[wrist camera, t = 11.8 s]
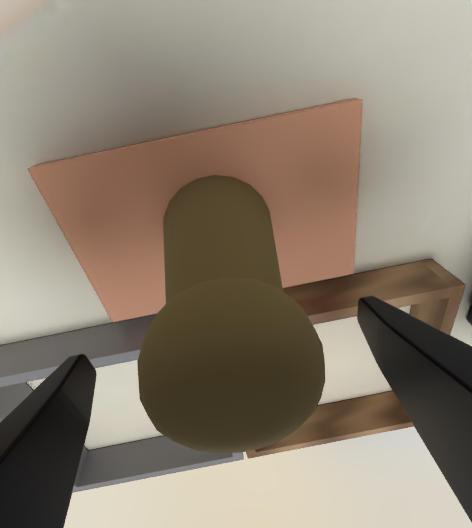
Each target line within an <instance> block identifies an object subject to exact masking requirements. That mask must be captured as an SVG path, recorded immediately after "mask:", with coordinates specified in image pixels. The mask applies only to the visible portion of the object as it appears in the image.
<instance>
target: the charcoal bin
mask: <svg viewBox="0 0 472 528" xmlns="http://www.w3.org/2000/svg"><path fill="white" fill-rule="evenodd" d="M156 315H157V314H155V315H150V316H145V317H140V318H135V319H130V320H125V321H120V322H115V323H110V324H106V325H101V326H96V327H91V328H86V329H81V330H76V331H71V332H66V333H61V334H56V335H51V336H46V337H41V338H36V339H31V340H26V341H21V342H16V343H11V344H6V345H1V346H0V422H1V421H2V420H3V419H4V418H5V417H6V416H7V415H8V414H9V413H10V412H11V411H13V410H14V409H15V408H16V407H17V406H18V405H19V404H20V403H21V402H22V401H23V400H24V399H25V398H26V397H27V396H28V395H29V394H30V393H31V392H32V391H33V390H32V389H31V388H30V387H29V385H28V384H27V383H26V382H28V381H33V380H38V379H43V378H47V377H48V376H49V375H50V374H51V373H52V372H53V371H54V370H56V369H57V368H58V367H59V366H60V365H61V364H62V363H63V362H64V361H65V360H66V359H67V358H68V357H69V356H72V355H76V354H81V353H82V354H85V355H86V356H87V358H88V359H89V361H90V362H91V364H92V365H93V366H94V368H99V367H104V366H109V365H114V364H119V363H124V362H129V361H134V360H138V358H139V354H140V350H141V346H142V343H143V341H144V338H145V336H146V334H147V331H148V329H149V327H150V324H151V323H152V321H153V320H154V318H155V316H156ZM243 459H244V458H243V452H240V453H219V454H217V453H210V452H203V451H197V450H194V449H191V448H189V447H186V446H183V445H180V444H178V443H176V442H173V441H172V440H170V439H169V438H167V437H166V436H161V437H156V438H151V439H145V440H140V441H135V442H130V443H125V444H120V445H115V446H110V447H105V448H100V449H94V450H89V451H88V450H87V449H86V448H85V446H84V447H83V451H82V455H81V459H80V463H79V467H78V471H77V475H76V479H75V483H74V487H73V491H72V493H73V492H78V491H83V490H88V489H94V488H99V487H103V486H109V485H114V484H119V483H124V482H129V481H135V480H140V479H145V478H150V477H155V476H161V475H166V474H171V473H176V472H181V471H186V470H191V469H197V468H202V467H207V466H212V465H217V464H222V463H227V462H233V461H238V460H243Z"/></svg>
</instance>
